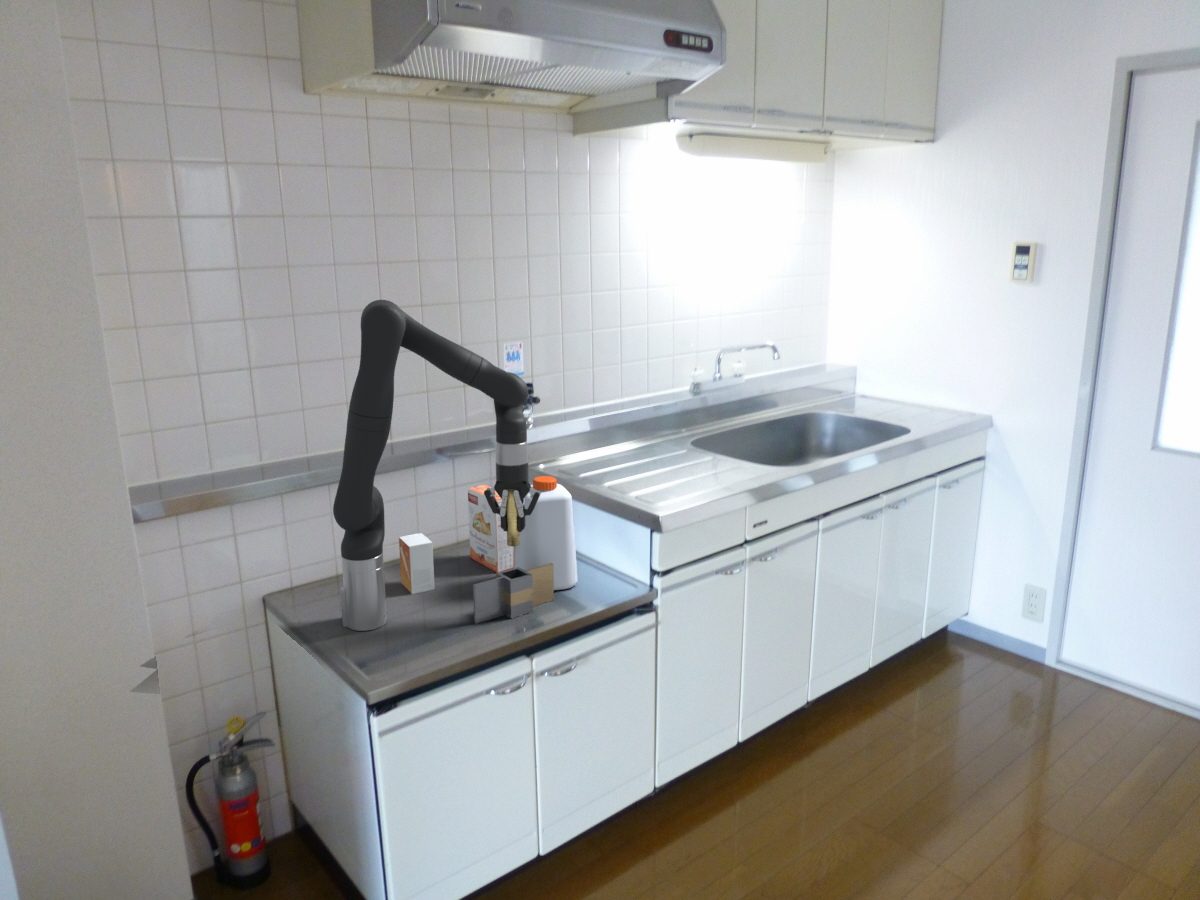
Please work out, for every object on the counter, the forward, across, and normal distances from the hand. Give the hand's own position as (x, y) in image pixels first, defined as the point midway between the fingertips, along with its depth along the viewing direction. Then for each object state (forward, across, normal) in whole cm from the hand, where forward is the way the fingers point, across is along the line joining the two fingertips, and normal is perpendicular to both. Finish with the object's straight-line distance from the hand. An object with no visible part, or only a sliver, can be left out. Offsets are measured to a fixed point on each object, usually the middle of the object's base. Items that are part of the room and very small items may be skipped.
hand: (513, 530), depth 205 cm
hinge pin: (+3, 0, 0) cm, 3 cm away
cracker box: (+21, -13, +29) cm, 38 cm away
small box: (+21, -28, +11) cm, 37 cm away
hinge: (+21, 0, 0) cm, 21 cm away
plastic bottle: (+21, +4, +19) cm, 29 cm away
